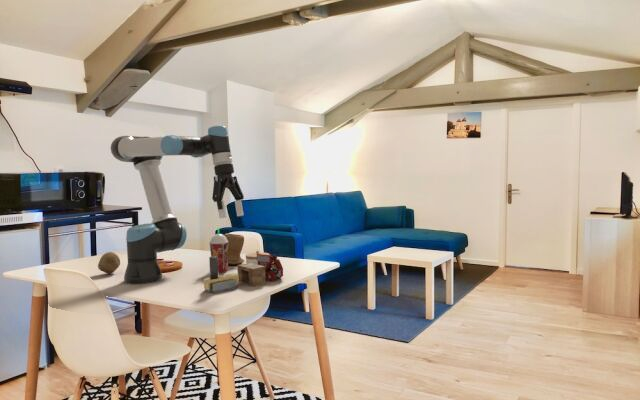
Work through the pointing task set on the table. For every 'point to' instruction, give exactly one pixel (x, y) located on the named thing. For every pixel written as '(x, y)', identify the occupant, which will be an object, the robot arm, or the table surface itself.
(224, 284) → the channel
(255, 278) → the socket
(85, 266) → the table surface
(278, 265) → the toy fire truck
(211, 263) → the brass block with handle
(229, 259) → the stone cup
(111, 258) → the natural sponge
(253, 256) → the lidded jar
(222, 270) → the smoothie
